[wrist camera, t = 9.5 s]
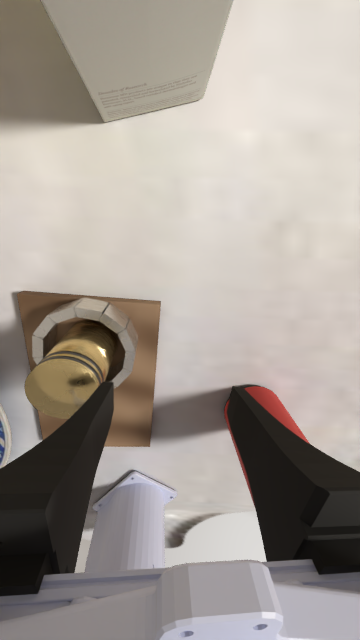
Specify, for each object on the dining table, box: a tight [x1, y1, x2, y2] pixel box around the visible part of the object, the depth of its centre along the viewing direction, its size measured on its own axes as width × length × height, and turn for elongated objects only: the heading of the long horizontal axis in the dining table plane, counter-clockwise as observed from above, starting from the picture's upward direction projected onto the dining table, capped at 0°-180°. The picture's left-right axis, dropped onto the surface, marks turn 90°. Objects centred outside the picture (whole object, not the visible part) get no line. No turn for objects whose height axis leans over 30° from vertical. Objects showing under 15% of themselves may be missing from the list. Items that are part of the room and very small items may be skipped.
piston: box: [25, 319, 118, 419], centre depth 17 cm, size 5×5×7 cm
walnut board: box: [17, 291, 161, 447], centre depth 23 cm, size 18×12×1 cm, turn 174°
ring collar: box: [32, 298, 138, 388], centre depth 19 cm, size 8×8×2 cm
